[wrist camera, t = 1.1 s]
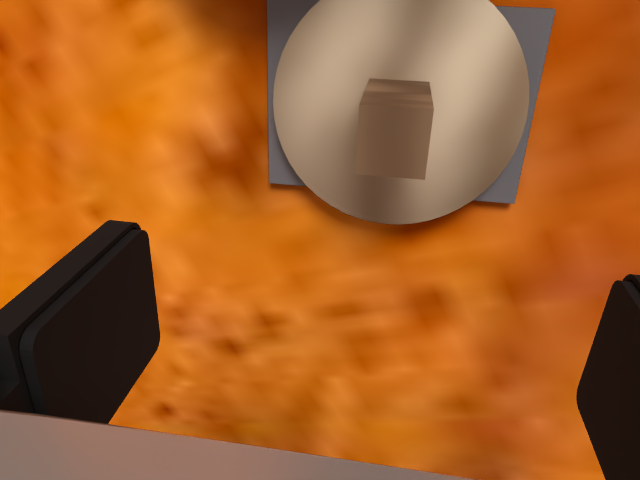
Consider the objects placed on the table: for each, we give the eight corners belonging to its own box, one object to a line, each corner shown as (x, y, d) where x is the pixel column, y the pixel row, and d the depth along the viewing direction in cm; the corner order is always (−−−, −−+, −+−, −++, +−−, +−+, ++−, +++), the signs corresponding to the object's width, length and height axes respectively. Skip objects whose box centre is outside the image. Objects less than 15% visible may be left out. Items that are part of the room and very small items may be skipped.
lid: (551, -27, 25) (598, -26, 19) (500, 227, 31) (522, 292, 24) (276, -37, 26) (235, -38, 20) (277, 207, 32) (246, 263, 26)
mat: (552, 8, 26) (555, 9, 25) (512, 199, 30) (514, 203, 30) (269, -4, 28) (266, -3, 27) (271, 179, 32) (269, 183, 32)
